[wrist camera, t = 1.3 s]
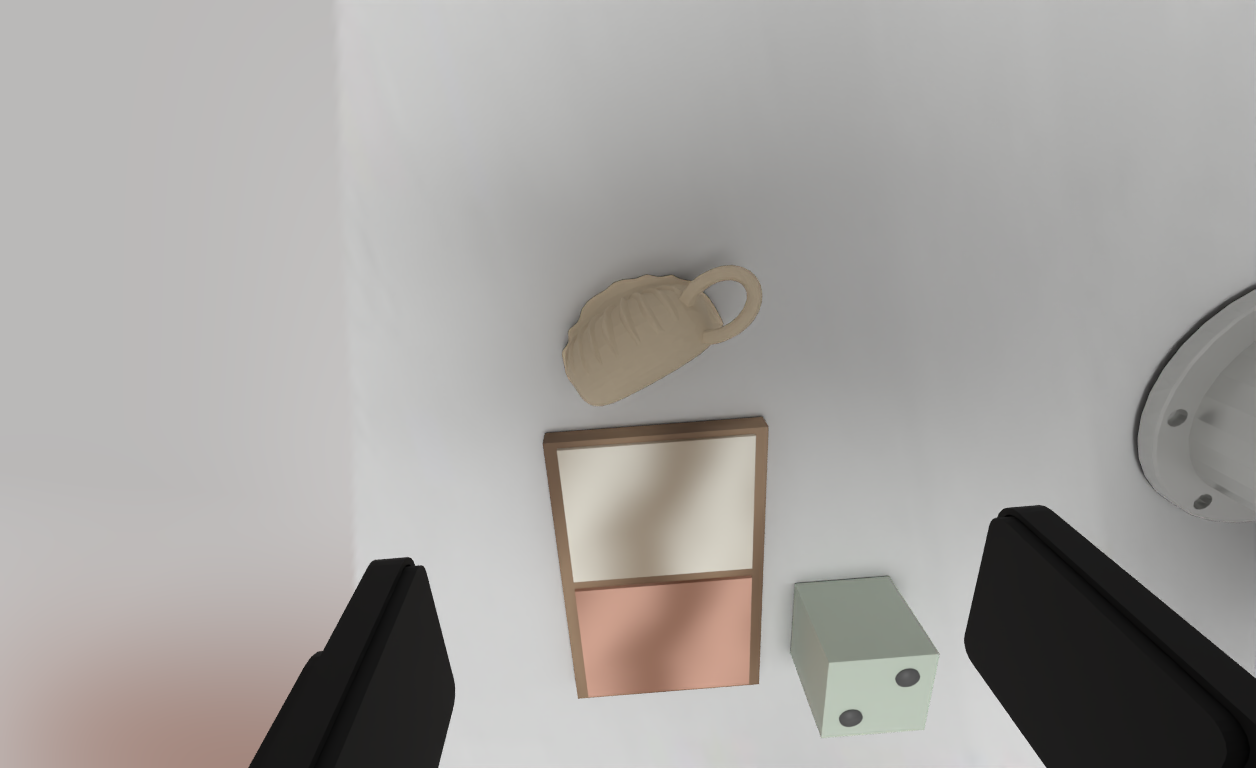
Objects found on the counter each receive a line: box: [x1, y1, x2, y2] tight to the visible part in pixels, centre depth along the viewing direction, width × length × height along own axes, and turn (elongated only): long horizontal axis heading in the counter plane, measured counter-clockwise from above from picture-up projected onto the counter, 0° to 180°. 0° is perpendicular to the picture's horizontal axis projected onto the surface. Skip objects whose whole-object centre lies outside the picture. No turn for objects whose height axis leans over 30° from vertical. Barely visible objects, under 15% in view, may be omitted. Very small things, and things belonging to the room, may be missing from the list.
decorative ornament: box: [562, 265, 762, 406], centre depth 22 cm, size 4×8×5 cm, turn 119°
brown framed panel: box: [543, 417, 768, 699], centre depth 29 cm, size 10×16×1 cm, turn 4°
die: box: [790, 576, 940, 738], centre depth 29 cm, size 5×5×5 cm
